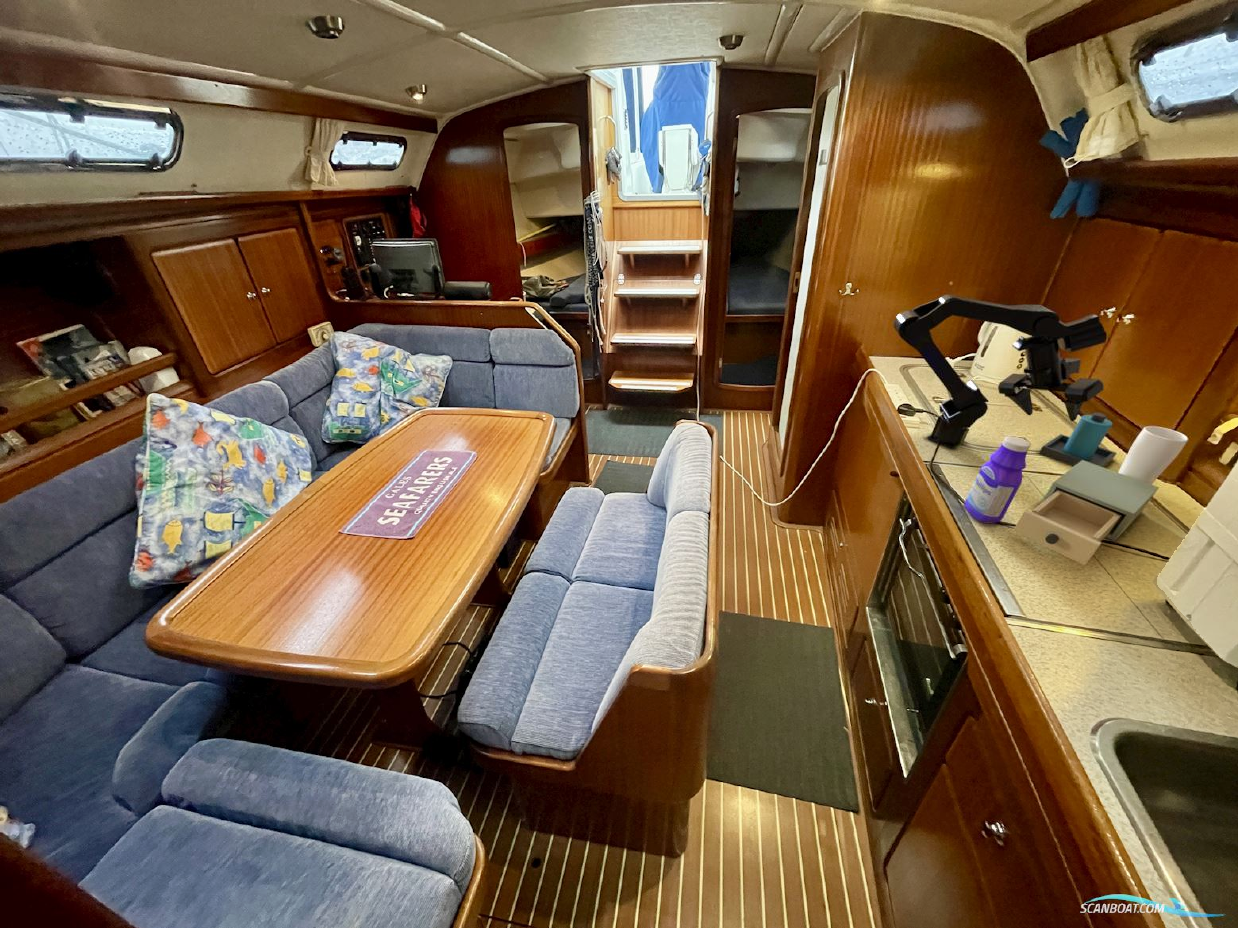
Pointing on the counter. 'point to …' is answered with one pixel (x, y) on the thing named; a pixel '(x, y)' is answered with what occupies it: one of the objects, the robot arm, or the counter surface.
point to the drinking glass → (1152, 453)
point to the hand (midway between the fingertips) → (1051, 417)
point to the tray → (1055, 451)
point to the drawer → (1067, 525)
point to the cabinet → (1106, 492)
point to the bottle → (998, 481)
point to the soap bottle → (1087, 436)
